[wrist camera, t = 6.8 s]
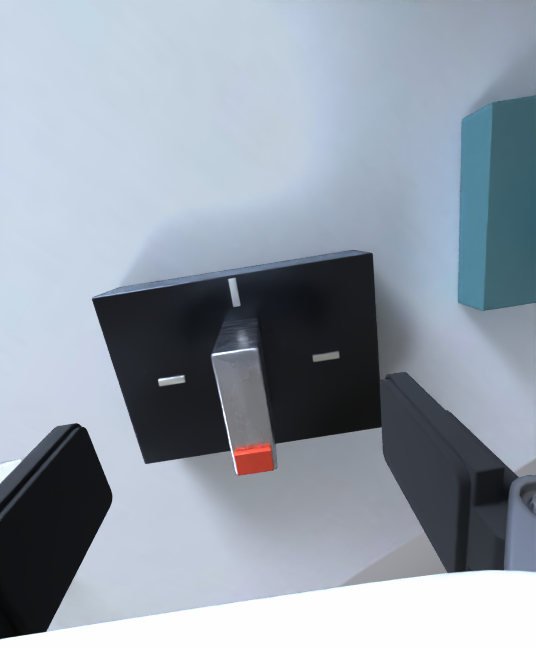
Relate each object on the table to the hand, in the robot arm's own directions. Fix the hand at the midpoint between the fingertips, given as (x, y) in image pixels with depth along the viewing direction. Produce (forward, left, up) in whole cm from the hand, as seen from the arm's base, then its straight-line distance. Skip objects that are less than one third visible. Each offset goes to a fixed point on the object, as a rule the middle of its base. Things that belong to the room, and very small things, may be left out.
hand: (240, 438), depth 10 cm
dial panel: (+1, 0, -10) cm, 10 cm away
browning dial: (+1, 0, -7) cm, 7 cm away
